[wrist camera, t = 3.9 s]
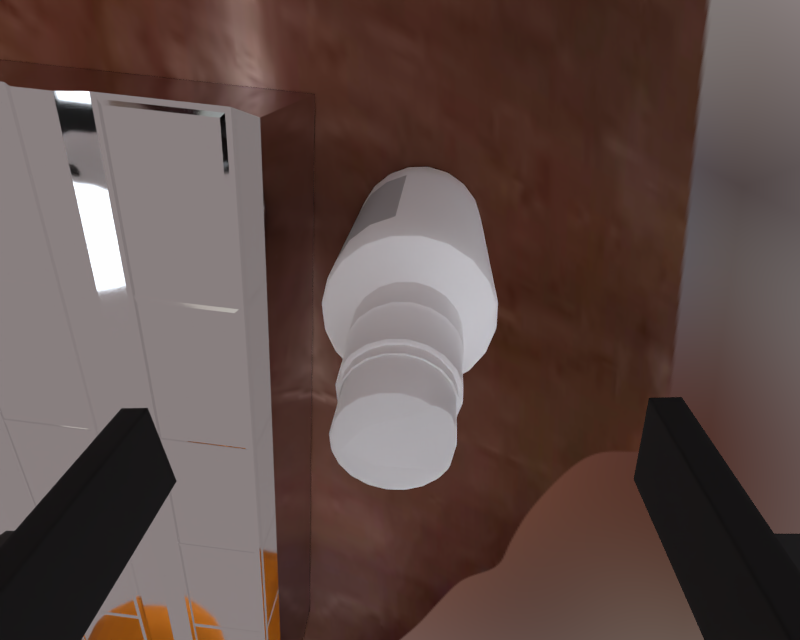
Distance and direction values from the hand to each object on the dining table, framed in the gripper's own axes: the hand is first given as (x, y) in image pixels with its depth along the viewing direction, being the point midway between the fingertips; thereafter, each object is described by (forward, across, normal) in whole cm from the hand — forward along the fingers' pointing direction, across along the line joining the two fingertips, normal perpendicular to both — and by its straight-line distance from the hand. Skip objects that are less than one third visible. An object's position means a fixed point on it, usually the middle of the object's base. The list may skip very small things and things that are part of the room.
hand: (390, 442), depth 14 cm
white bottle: (+18, 0, 0) cm, 18 cm away
